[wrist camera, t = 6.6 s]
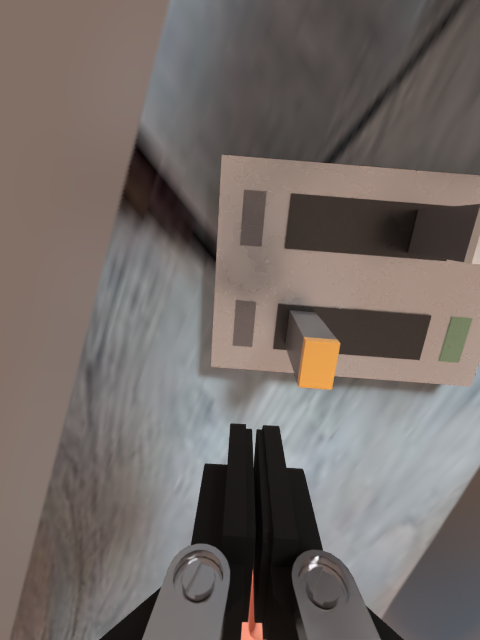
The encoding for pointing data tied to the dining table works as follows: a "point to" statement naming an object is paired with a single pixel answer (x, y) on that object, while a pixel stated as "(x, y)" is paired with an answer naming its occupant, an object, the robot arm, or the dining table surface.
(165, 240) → the dining table surface
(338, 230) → the panel
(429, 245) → the block
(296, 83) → the dining table surface
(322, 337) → the block
